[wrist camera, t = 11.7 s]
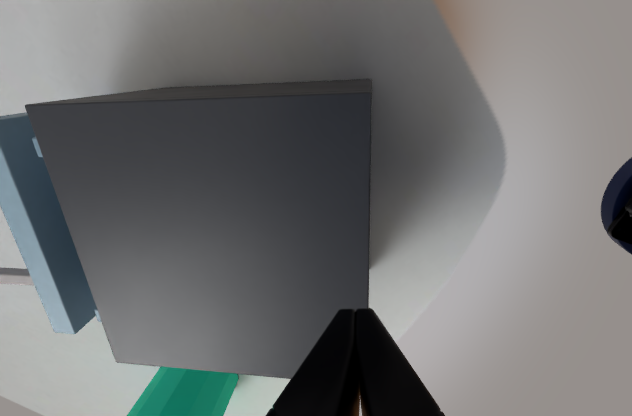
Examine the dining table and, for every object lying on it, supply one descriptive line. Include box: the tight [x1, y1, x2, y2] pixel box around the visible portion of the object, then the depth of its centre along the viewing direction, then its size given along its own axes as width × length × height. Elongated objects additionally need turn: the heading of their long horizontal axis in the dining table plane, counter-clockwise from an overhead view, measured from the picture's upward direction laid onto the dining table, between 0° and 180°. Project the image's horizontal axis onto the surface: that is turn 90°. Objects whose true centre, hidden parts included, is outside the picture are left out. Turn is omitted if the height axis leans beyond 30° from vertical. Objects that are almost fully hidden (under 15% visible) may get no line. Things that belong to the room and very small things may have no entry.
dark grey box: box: [25, 79, 372, 379], centre depth 17 cm, size 12×12×9 cm
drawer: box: [0, 113, 102, 334], centre depth 18 cm, size 16×10×7 cm, turn 93°
